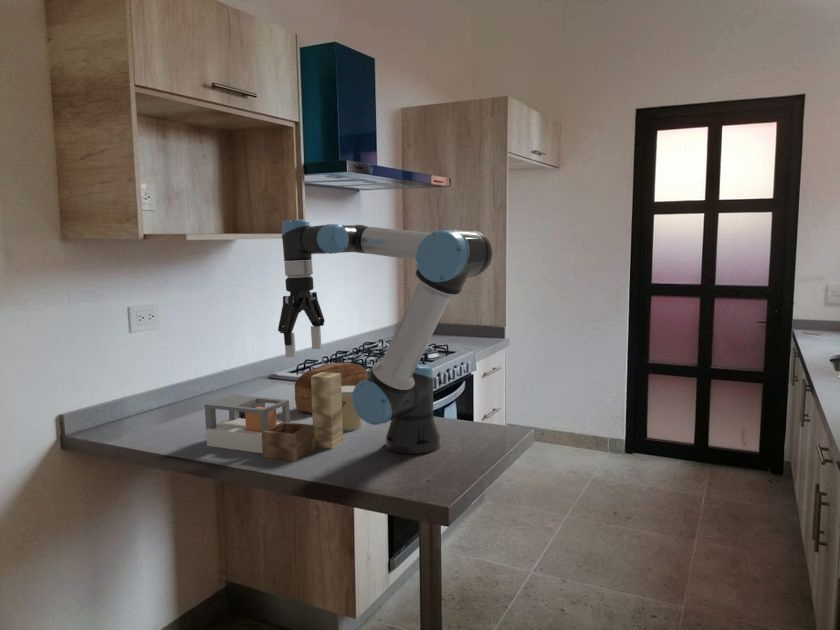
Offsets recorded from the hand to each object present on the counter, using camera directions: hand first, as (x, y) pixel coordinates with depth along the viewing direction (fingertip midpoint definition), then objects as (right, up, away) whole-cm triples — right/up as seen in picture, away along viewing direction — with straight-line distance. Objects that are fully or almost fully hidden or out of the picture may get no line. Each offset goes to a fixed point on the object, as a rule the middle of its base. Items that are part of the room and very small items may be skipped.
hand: (304, 352), depth 184 cm
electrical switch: (-20, -25, +20) cm, 37 cm away
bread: (+2, -21, +45) cm, 50 cm away
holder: (-3, -27, -5) cm, 28 cm away
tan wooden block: (+6, -26, +2) cm, 27 cm away
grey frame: (-17, -26, +5) cm, 31 cm away
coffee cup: (+10, -24, +19) cm, 33 cm away
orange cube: (-12, -22, +3) cm, 26 cm away
